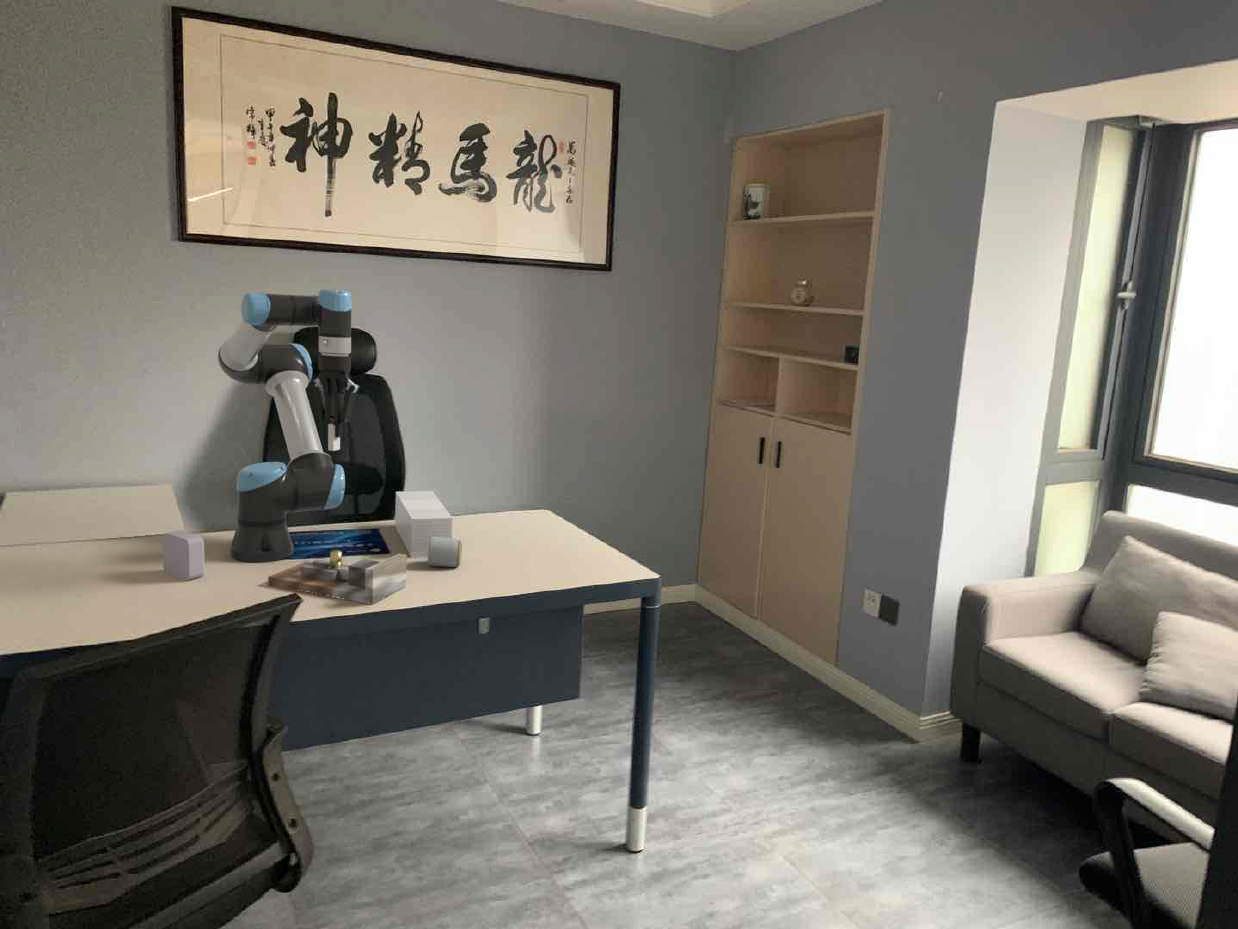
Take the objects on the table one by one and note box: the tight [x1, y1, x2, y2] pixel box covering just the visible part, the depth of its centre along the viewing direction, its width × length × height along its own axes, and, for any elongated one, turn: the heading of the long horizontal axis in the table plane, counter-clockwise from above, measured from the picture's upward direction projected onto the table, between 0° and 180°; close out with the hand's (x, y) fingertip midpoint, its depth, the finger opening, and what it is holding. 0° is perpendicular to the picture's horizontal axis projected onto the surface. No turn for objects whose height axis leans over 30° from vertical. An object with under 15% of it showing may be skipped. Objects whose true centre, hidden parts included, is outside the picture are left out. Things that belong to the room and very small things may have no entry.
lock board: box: [267, 553, 407, 605], centre depth 214 cm, size 28×14×8 cm, turn 72°
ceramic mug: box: [427, 536, 463, 568], centre depth 237 cm, size 11×8×8 cm
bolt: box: [328, 549, 349, 580], centre depth 213 cm, size 12×3×6 cm, turn 72°
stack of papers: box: [394, 490, 453, 559], centre depth 256 cm, size 32×11×11 cm, turn 21°
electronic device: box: [161, 529, 206, 581], centre depth 215 cm, size 10×5×10 cm, turn 59°
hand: (334, 449), depth 226 cm, fingers closed
